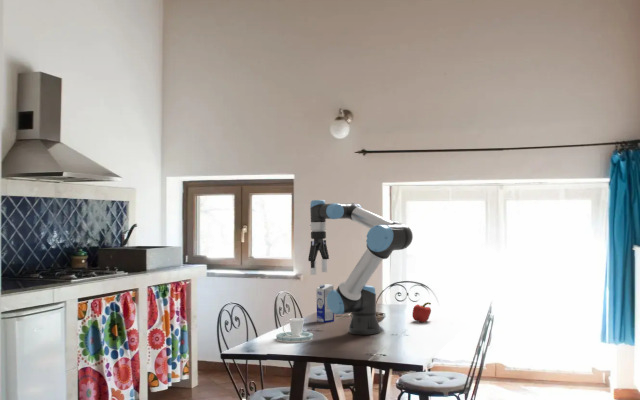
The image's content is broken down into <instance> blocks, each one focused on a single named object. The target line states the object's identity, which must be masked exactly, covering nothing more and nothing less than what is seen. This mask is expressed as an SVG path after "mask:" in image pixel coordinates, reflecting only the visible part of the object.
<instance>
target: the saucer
mask: <svg viewBox="0 0 640 400" xmlns="http://www.w3.org/2000/svg"><path fill="white" fill-rule="evenodd" d="M285 332H286V333H287V334H289V335H291V336H293V334H292V333H291V331H285ZM285 332H284V331H283V332H279V333H277V334H276V335H275V336H276V338H275V339H276V341H277V342H280V343H287V344H288V343H289V344H290V343H292V344H294V343H295V344H297V343H305V342H310V341H313V340H314V334H313V333H312V332H310V331H309V332H308V331H302V334H300V335H301V337H291V336H289V335H287V334H286V333H285Z"/></svg>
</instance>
